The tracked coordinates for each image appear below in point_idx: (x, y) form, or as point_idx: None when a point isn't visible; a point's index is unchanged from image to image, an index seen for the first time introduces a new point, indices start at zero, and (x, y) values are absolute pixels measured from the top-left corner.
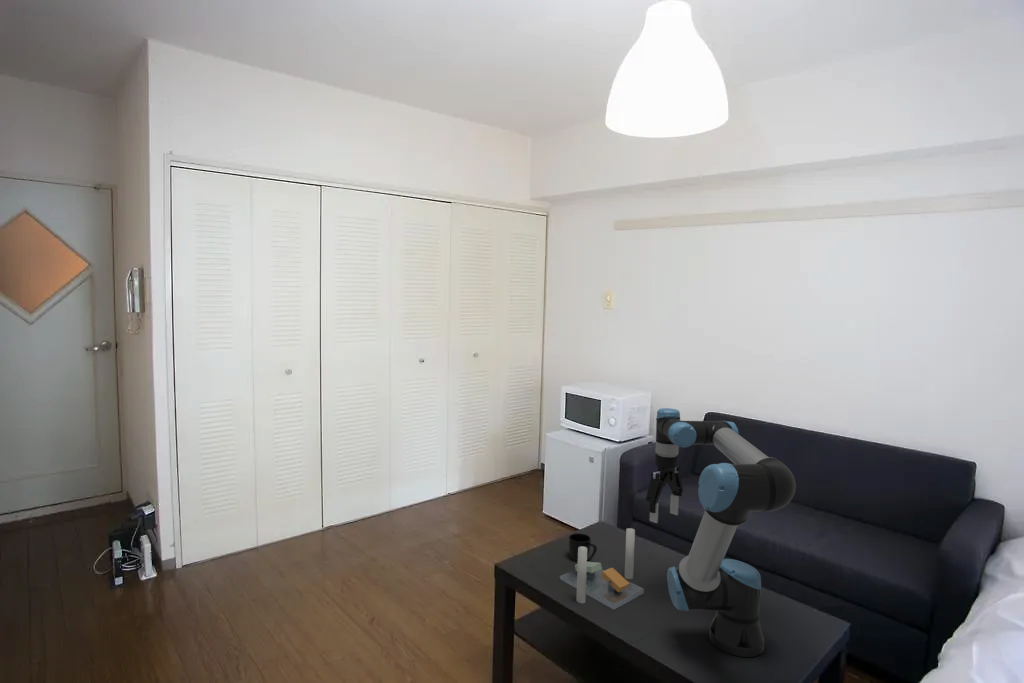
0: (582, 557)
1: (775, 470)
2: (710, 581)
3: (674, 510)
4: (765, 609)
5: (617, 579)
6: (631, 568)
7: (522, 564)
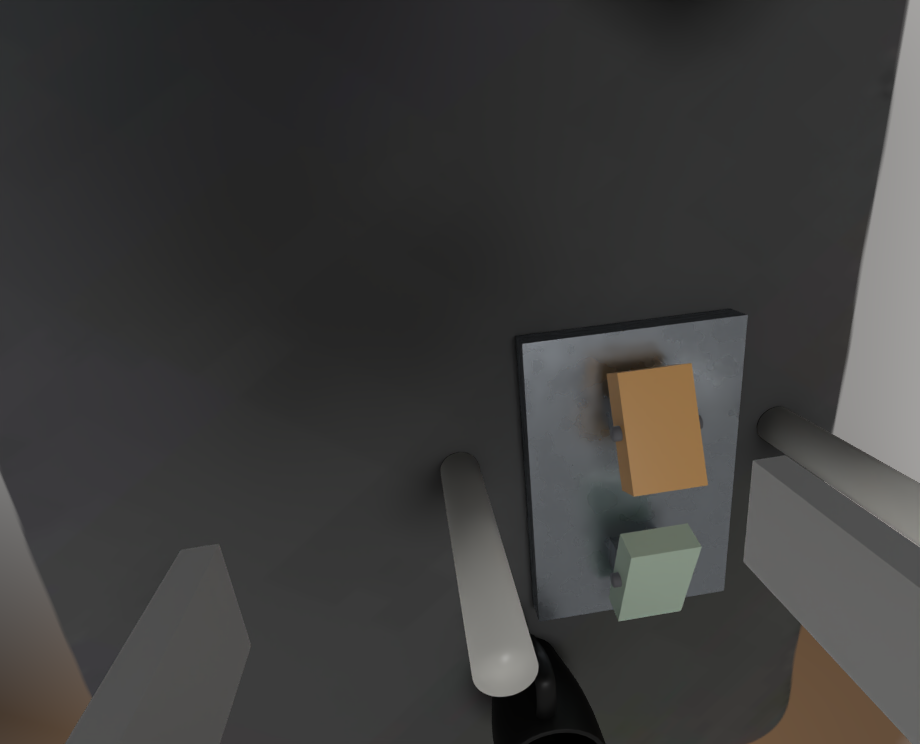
0: None
1: None
2: None
3: (208, 635)
4: None
5: (665, 414)
6: (473, 483)
7: (713, 717)
